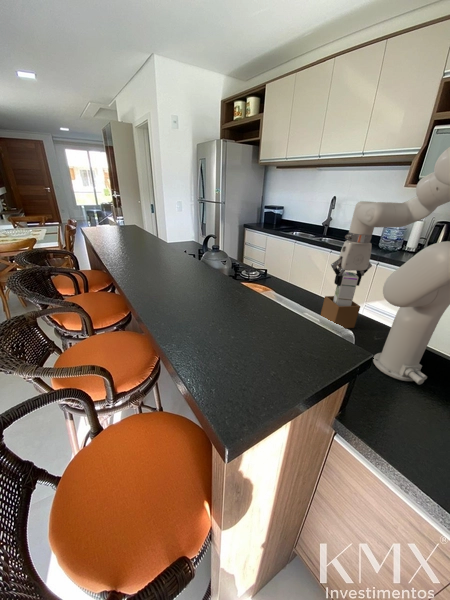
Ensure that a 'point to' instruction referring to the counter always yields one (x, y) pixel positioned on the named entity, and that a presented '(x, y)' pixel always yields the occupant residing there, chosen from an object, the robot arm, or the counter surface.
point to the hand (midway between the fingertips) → (346, 284)
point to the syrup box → (346, 289)
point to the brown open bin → (340, 312)
